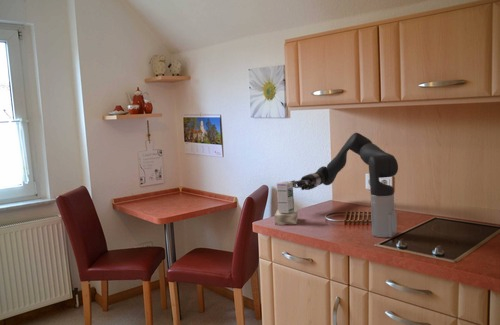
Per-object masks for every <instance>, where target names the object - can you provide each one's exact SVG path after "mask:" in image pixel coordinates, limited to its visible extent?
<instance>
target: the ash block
mask: <svg viewBox="0 0 500 325" xmlns="http://www.w3.org/2000/svg"><path fill="white" fill-rule="evenodd" d="M298 220H299V216H298V209H294V211H293V212H290V213H279V212H278V209H277V210H276V212H275V214H274V225H275V226H283V225H284V224H296V225H297V223H298ZM284 226H285V225H284Z"/></svg>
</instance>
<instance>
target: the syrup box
mask: <svg viewBox="0 0 500 325" xmlns="http://www.w3.org/2000/svg"><path fill="white" fill-rule="evenodd" d="M276 196H277V197H276V198H277V210H278V212H279V213H290V212H293V211H294V210H295V204H294V201H295V200H294V187H293V182H290V181H282V182H277V183H276Z"/></svg>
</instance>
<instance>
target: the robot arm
mask: <svg viewBox="0 0 500 325" xmlns="http://www.w3.org/2000/svg"><path fill="white" fill-rule="evenodd" d="M348 151H352V152H353V153H355V154H356V155H358V156H359V157H360V159H361V160H362V162H363V163H365V165H367V166H368V173H369V175H368V176H369V189H370V210H371V211H370V216H371V217H370V218H371V235H372V236H373V237H378V238H393V237H394V236H396V235H397V234H398V229H397V228H398V227H397V226H398V225H397V224H398V223H397V211H395V188H394V186H392V185H389V184H386V183H383V182H381V181H380V178H381V179H382V178H392V177H395V176H396V175H397V173H398V171H399V163H398V160H397V158H396V157H395V156H394V155H393V154H390V153H388V152H386V151H385V150H383V149H381V148H380V147H379V146H378V145H376V144H374V142H372V140H370V139H369V138H368V137H366V136H365V135H363V134H361V133H359V132H354V133H353V134H351V136H350V137H349V138H348V139H347V140H346V142H345V143H344V145H343V146H342V147H341V148H340V150H339V152H338V153H337V154H336V155H335V157H334V158H333V159H332V160H331V161H330V162H328V163H327V165H326V166H323V165H322V166H321V167H319V168H318V169H317V170H316V171H315V172H313V173H312V172H311V173H308V174H305V175H304V176H302V177H301V178H300V179H299V180H294V179H293V180H291V181H289V182H293V189H299V188H300V190H301V191H304V190H306V191H309V190H313V189H315V188H317V187H318V186H320V185H322V184H323V185H324V186H330V185H332V183H334V181H335V180H336V177H337V176H338V174H339V173H340V172H341V171H342V170H343V169H344V167H346V165H347V160H348V158H347V157H348V156H347V155H348Z"/></svg>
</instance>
